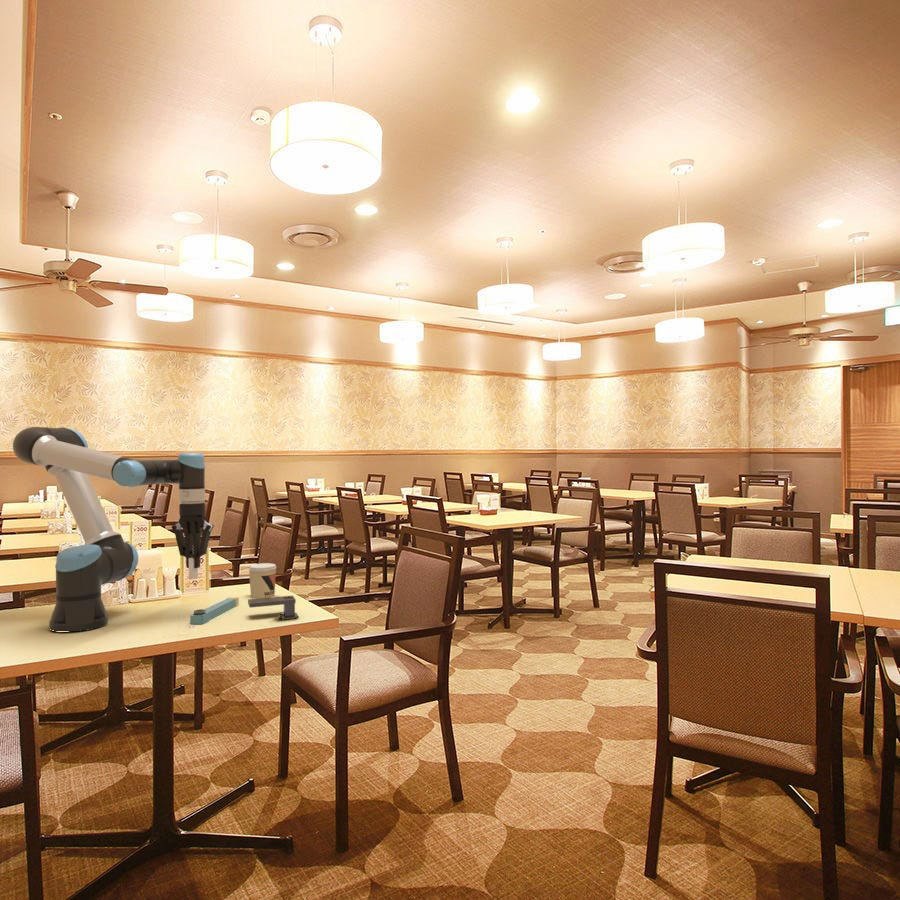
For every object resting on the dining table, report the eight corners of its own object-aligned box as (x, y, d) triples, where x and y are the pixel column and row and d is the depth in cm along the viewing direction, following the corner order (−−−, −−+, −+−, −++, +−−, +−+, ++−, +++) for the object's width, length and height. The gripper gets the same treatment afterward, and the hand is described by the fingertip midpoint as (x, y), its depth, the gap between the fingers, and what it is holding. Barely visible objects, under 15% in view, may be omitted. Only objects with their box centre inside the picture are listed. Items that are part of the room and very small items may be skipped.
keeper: (249, 624, 192) (249, 603, 192) (248, 619, 198) (248, 599, 198) (298, 619, 198) (298, 599, 198) (295, 614, 203) (295, 595, 203)
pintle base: (184, 633, 183) (184, 616, 183) (178, 625, 191) (178, 609, 191) (221, 628, 188) (221, 611, 188) (213, 620, 196) (213, 605, 196)
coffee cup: (266, 603, 219) (266, 568, 219) (243, 601, 222) (243, 566, 222) (281, 597, 227) (281, 563, 228) (259, 595, 231) (259, 562, 231)
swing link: (202, 624, 187) (202, 615, 187) (189, 624, 188) (189, 615, 188) (239, 605, 211) (239, 597, 211) (228, 604, 212) (228, 596, 212)
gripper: (165, 503, 196) (166, 580, 196) (205, 503, 194) (207, 581, 194) (179, 501, 204) (180, 576, 203) (217, 501, 202) (219, 576, 202)
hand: (193, 578), depth 199 cm, fingers closed
